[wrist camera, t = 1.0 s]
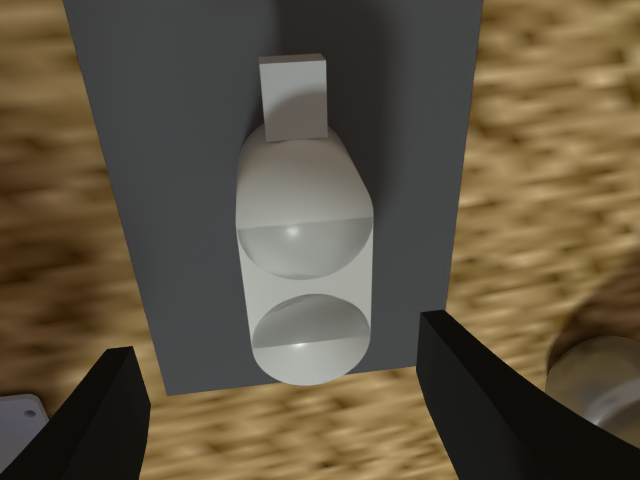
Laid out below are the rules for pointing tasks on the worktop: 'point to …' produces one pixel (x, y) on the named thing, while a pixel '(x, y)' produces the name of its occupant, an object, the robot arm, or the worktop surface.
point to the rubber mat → (235, 127)
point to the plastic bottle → (601, 384)
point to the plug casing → (303, 231)
